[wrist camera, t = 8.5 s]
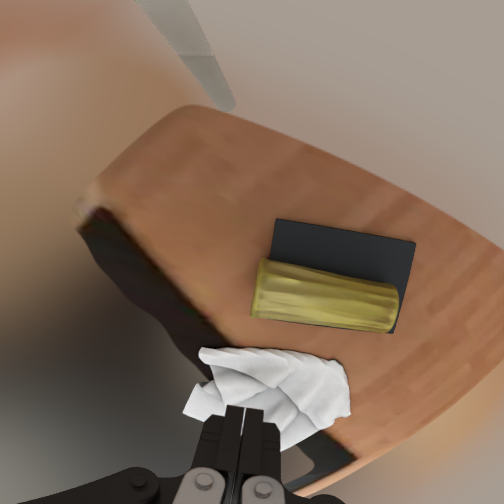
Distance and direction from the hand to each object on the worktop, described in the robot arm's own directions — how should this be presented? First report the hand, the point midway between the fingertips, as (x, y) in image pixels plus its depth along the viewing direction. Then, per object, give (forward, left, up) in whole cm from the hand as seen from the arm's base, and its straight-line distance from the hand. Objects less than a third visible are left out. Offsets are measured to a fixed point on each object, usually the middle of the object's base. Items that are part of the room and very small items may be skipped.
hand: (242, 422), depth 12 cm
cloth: (+16, +2, -24) cm, 29 cm away
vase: (+1, -1, -20) cm, 20 cm away
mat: (-1, +8, -24) cm, 25 cm away
